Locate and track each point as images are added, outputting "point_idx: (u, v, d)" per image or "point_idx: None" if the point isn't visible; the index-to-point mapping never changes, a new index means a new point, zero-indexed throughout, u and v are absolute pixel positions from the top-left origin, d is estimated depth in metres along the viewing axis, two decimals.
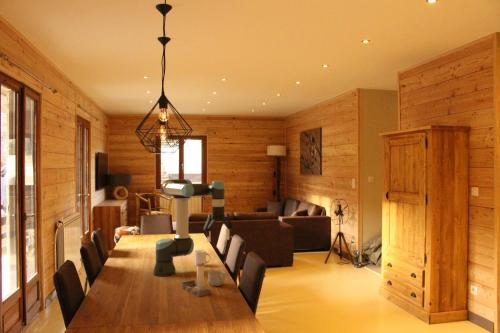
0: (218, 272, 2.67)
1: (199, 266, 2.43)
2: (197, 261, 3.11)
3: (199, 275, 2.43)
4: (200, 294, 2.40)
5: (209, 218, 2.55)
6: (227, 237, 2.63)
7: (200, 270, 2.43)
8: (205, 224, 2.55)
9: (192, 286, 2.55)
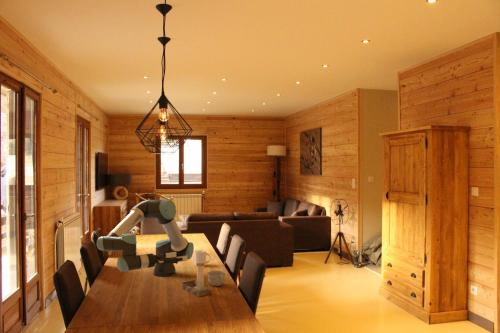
0: (218, 272, 2.67)
1: (199, 266, 2.43)
2: (197, 261, 3.11)
3: (199, 275, 2.43)
4: (200, 294, 2.40)
5: None
6: None
7: (200, 270, 2.43)
8: (157, 255, 2.44)
9: (192, 286, 2.55)
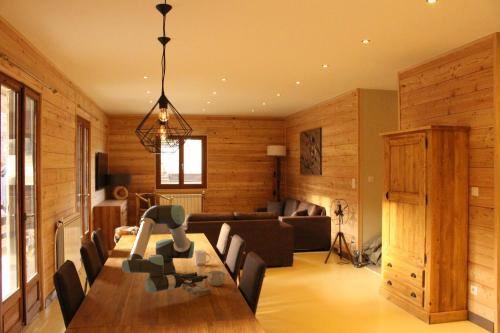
0: (218, 272, 2.67)
1: (200, 266, 2.42)
2: (197, 261, 3.11)
3: (200, 275, 2.42)
4: (200, 294, 2.40)
5: None
6: None
7: (201, 270, 2.42)
8: (188, 274, 2.46)
9: (192, 286, 2.55)
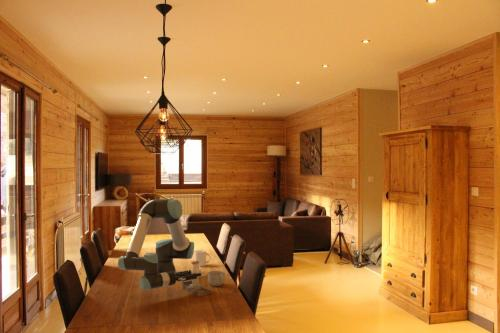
0: (218, 272, 2.67)
1: (194, 264, 2.48)
2: None
3: None
4: (200, 294, 2.40)
5: None
6: None
7: (195, 268, 2.48)
8: None
9: None
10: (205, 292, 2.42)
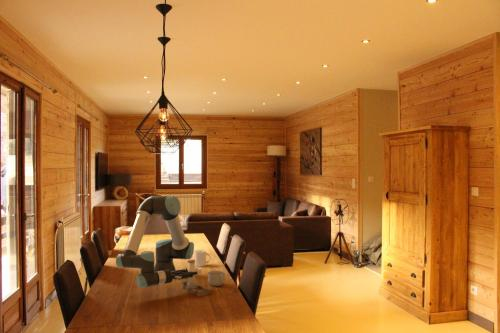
0: (218, 272, 2.67)
1: (190, 263, 2.52)
2: (197, 261, 3.11)
3: (190, 271, 2.52)
4: (200, 294, 2.40)
5: None
6: None
7: (191, 267, 2.52)
8: (179, 270, 2.55)
9: None
10: (205, 292, 2.42)
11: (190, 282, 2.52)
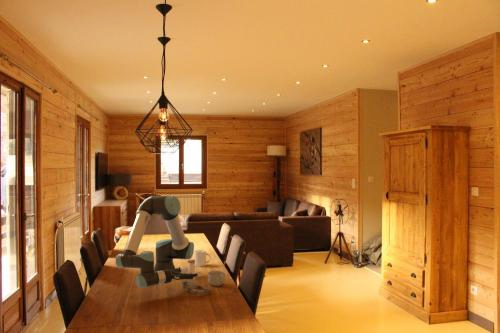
0: (218, 272, 2.67)
1: (190, 263, 2.52)
2: (197, 261, 3.11)
3: (190, 271, 2.52)
4: (200, 294, 2.40)
5: None
6: None
7: (191, 267, 2.52)
8: (173, 270, 2.56)
9: None
10: (205, 292, 2.42)
11: (190, 282, 2.52)
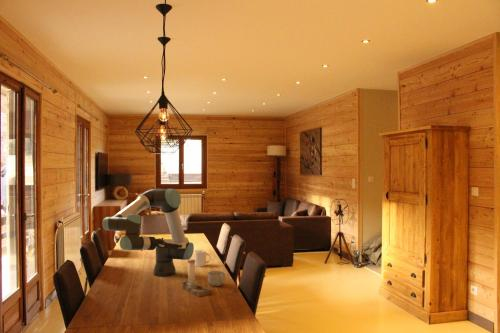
0: (218, 272, 2.67)
1: (190, 263, 2.52)
2: (197, 261, 3.11)
3: (190, 271, 2.52)
4: (200, 294, 2.40)
5: None
6: None
7: (191, 267, 2.52)
8: None
9: None
10: (205, 292, 2.42)
11: (190, 282, 2.52)
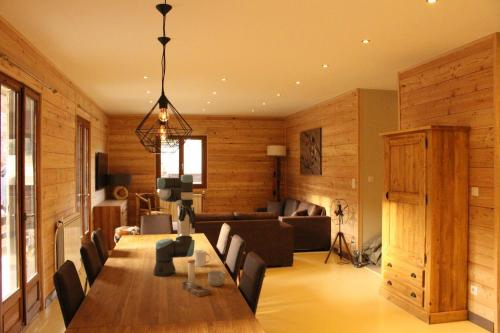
0: (218, 272, 2.67)
1: (190, 263, 2.52)
2: (197, 261, 3.11)
3: (190, 271, 2.52)
4: (200, 294, 2.40)
5: (180, 209, 2.73)
6: None
7: (191, 267, 2.52)
8: None
9: None
10: (205, 292, 2.42)
11: (190, 282, 2.52)
